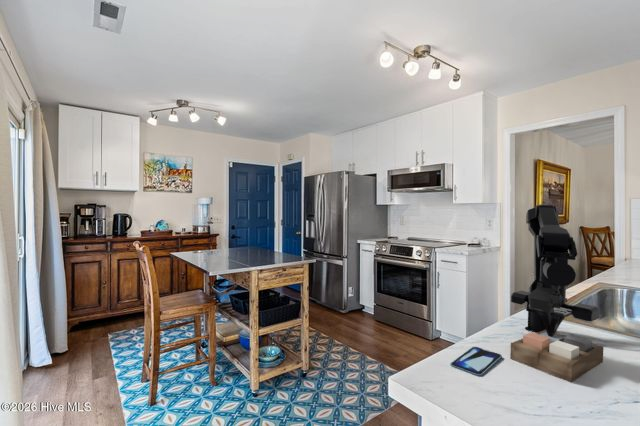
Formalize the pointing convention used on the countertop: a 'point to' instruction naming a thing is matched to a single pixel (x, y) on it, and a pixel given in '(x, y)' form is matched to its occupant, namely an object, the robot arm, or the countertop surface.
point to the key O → (579, 342)
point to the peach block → (536, 340)
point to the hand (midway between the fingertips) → (550, 336)
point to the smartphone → (476, 361)
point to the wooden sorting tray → (557, 360)
